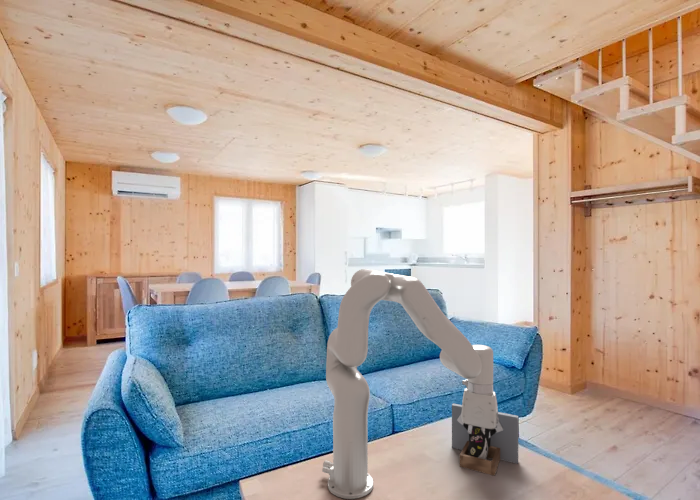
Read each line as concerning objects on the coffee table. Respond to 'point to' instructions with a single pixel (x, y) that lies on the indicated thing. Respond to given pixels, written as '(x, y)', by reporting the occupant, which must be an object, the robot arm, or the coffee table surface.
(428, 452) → the coffee table surface
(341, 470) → the robot arm
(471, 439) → the beverage can
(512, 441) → the wall board
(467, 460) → the brown wooden open box
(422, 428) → the coffee table surface
